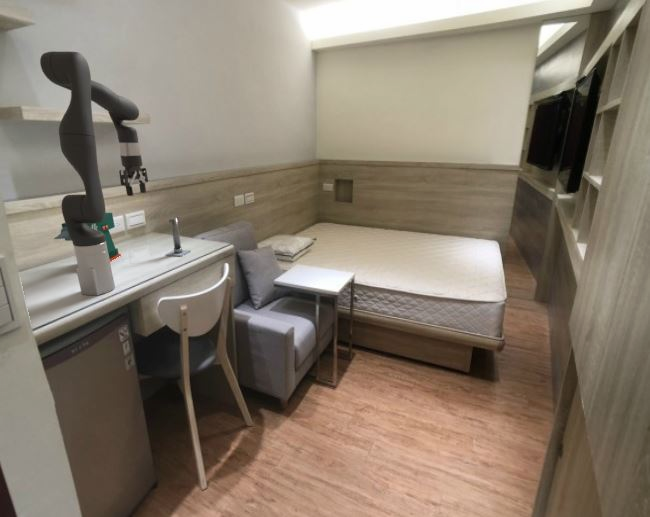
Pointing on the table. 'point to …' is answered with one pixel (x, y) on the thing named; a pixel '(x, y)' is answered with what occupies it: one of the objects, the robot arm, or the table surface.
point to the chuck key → (176, 235)
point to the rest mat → (177, 254)
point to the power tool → (102, 227)
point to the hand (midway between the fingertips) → (137, 194)
